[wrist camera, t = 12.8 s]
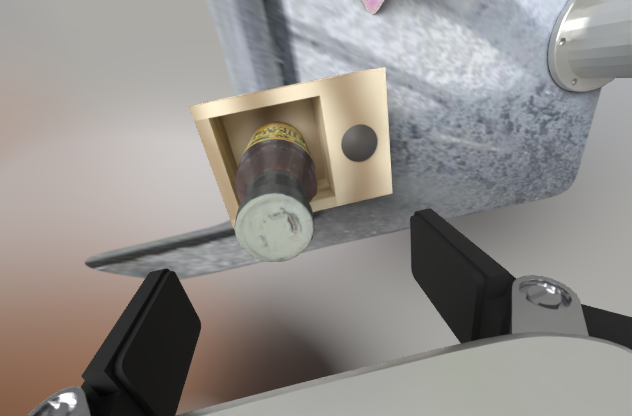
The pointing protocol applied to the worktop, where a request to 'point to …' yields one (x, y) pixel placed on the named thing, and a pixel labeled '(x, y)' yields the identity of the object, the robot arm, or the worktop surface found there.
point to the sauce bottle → (275, 194)
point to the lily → (372, 5)
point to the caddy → (308, 134)
